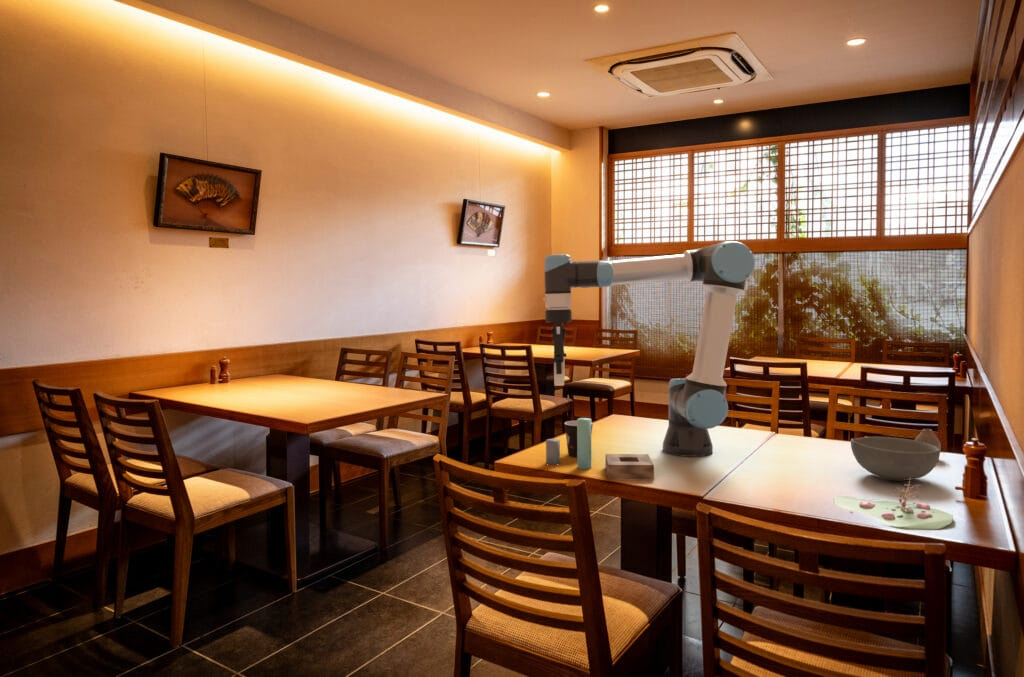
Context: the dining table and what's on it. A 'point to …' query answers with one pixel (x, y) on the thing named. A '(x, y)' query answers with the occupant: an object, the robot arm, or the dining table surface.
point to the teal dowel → (584, 443)
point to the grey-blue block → (552, 451)
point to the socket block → (629, 466)
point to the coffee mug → (572, 437)
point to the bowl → (895, 457)
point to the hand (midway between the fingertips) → (559, 382)
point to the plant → (899, 512)
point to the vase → (928, 438)
